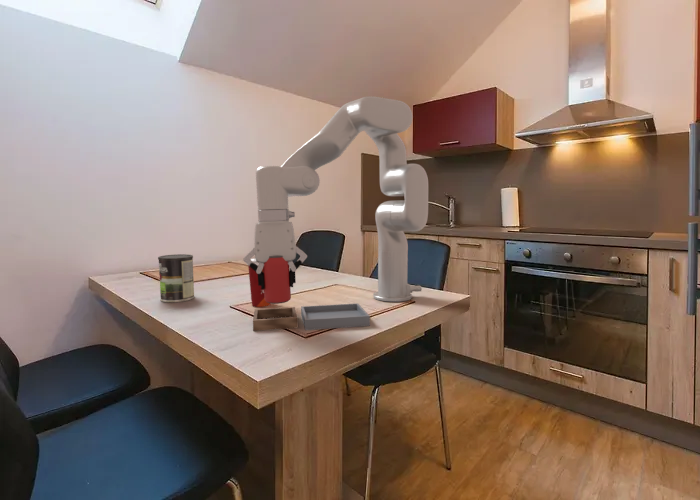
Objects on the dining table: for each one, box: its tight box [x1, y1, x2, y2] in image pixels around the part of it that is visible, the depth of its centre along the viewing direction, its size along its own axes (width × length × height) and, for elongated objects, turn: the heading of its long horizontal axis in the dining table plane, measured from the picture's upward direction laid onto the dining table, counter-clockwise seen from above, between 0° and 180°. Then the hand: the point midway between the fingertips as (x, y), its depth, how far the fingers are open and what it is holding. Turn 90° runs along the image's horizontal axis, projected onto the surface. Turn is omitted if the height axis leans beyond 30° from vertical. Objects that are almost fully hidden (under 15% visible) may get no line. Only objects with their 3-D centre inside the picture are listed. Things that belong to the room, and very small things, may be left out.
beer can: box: [263, 256, 292, 305], centre depth 95 cm, size 7×7×12 cm
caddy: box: [252, 306, 299, 332], centre depth 96 cm, size 11×11×2 cm
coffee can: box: [157, 253, 195, 303], centre depth 122 cm, size 10×10×14 cm
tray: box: [300, 303, 371, 331], centre depth 98 cm, size 16×13×2 cm
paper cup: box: [246, 258, 271, 308], centre depth 114 cm, size 8×8×14 cm
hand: (277, 286), depth 96 cm, fingers closed on beer can, 6 cm apart
